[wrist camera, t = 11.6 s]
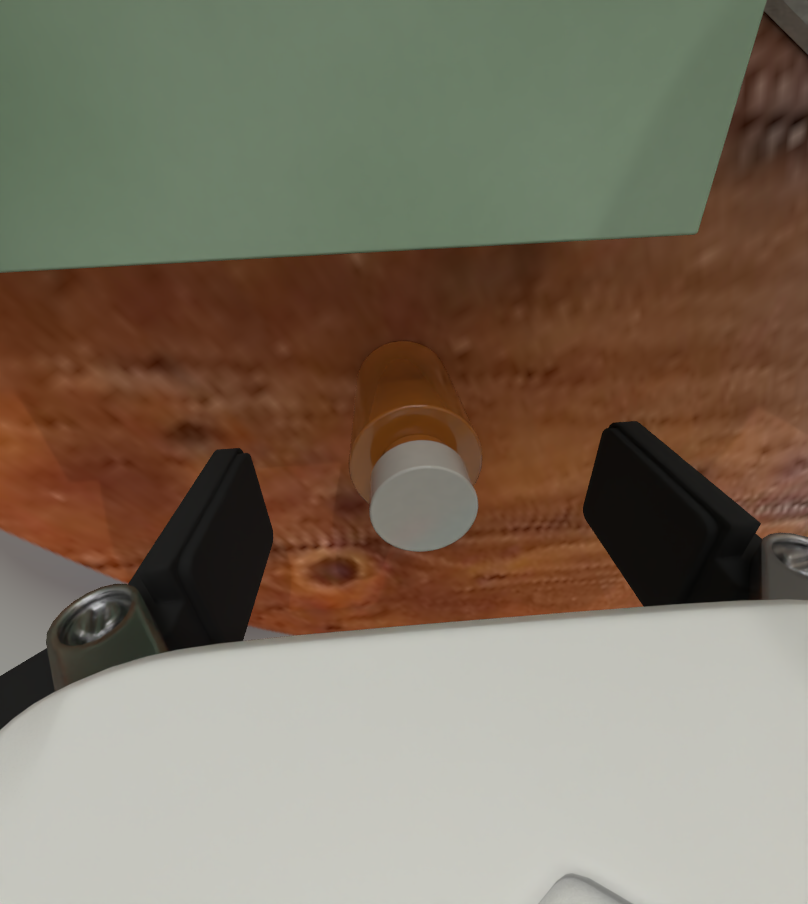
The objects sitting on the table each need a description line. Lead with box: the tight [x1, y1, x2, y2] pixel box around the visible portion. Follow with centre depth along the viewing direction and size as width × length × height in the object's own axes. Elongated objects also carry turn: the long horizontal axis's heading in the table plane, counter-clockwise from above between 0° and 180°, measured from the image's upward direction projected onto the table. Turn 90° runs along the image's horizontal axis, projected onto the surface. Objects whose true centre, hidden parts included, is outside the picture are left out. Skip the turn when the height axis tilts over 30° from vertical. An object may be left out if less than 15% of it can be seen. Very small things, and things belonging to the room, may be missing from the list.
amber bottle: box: [349, 341, 482, 552], centre depth 14 cm, size 4×4×9 cm
